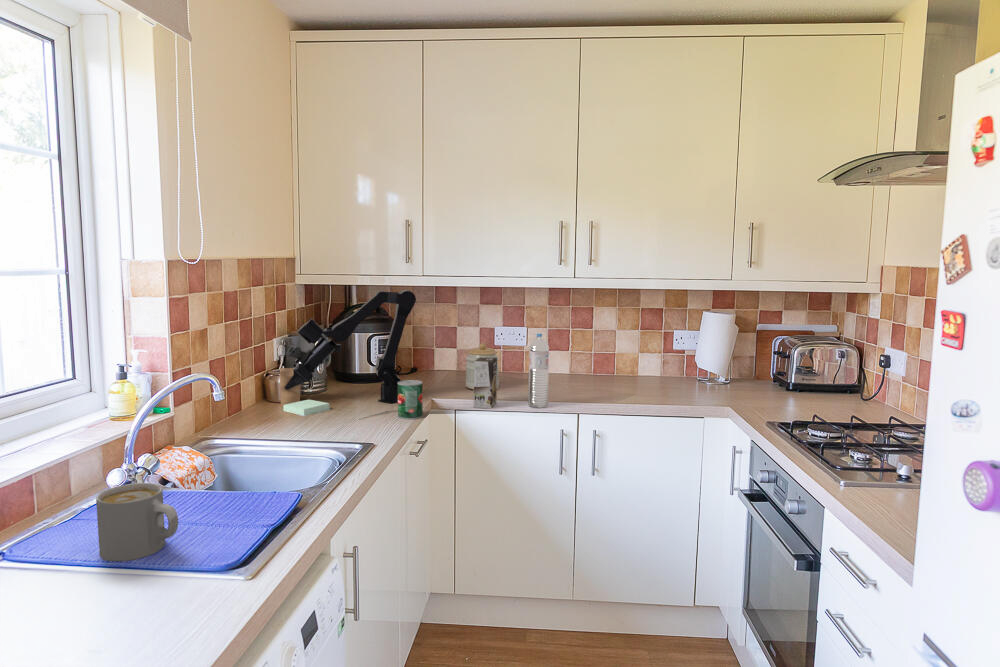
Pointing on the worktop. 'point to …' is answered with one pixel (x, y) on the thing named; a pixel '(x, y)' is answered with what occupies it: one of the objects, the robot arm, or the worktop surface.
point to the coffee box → (485, 382)
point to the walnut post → (290, 394)
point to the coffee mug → (133, 521)
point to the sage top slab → (306, 407)
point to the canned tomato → (410, 399)
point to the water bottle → (538, 373)
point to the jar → (473, 356)
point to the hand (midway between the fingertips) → (285, 386)
